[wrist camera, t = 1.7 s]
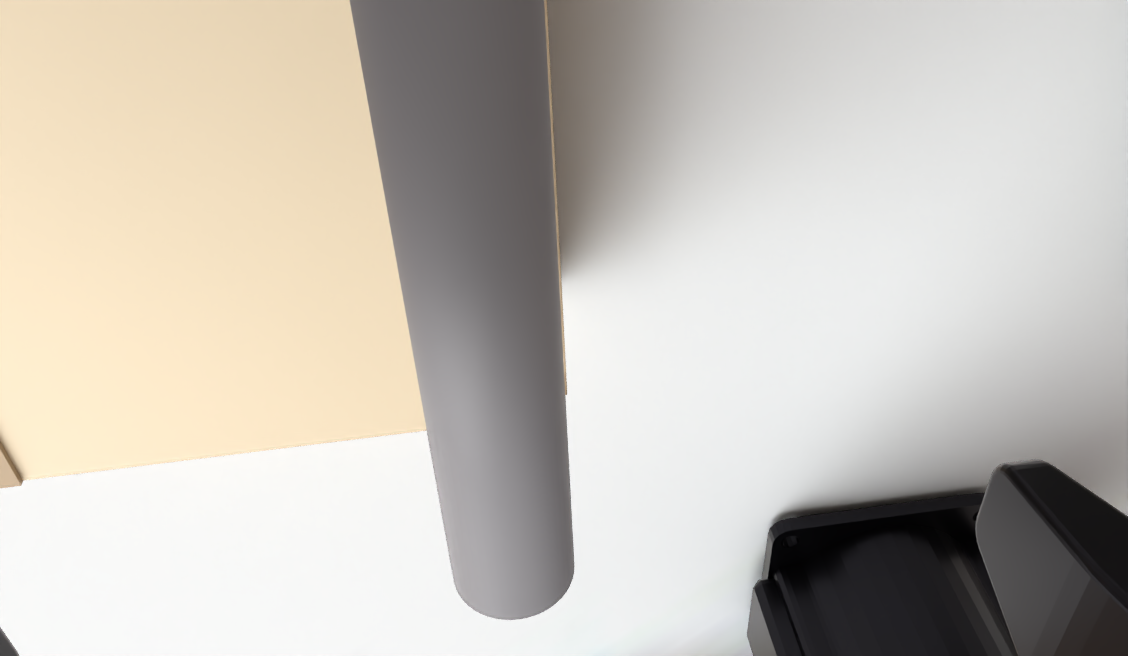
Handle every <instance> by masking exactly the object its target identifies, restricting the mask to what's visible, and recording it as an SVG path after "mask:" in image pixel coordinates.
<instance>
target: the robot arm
mask: <svg viewBox="0 0 1128 656" xmlns="http://www.w3.org/2000/svg"><path fill="white" fill-rule="evenodd" d="M747 637H748V640H749V643H750V647H751V650H752V653H753V656H1128V516H1126V515H1125V514H1123V513H1122V512H1120V511H1119V510H1118V509H1116V508H1115V507H1113V506H1112V505H1110V504H1109V503H1107V502H1106V501H1104V500H1103V499H1101V498H1100V497H1098V496H1097V495H1095V494H1094V493H1092V492H1091V491H1090V490H1088V489H1087V488H1085V487H1084V486H1082V485H1081V484H1079V483H1078V482H1076V481H1075V480H1073V479H1072V478H1070V477H1069V476H1067V475H1066V474H1065V473H1063V472H1062V471H1060V470H1059V469H1057V468H1056V467H1054V466H1053V465H1051V464H1049V463H1047V462H1045V461H1042V460H1025V461H1018V462H1010V463H1004V464H1000V465H999V466H998V467H996V468H995V469H994V470H993V472H992V474H991V477H990V480H989V483H988V486H987V489H986V492H985V493H975V494H967V495H960V496H953V497H945V498H938V499H930V500H923V501H915V502H908V503H901V504H893V505H886V506H878V507H871V508H864V509H856V510H849V511H841V512H834V513H826V514H819V515H812V516H804V517H797V518H789V519H785V520H781V521H779V522H777V523H775V524H774V525H773V526H772V527H771V528H770V530H769V532H768V539H767V546H766V553H765V560H764V567H763V574H762V579H761V580H758V582H757V583H756V585H755V586H754V588H753V593H752V600H751V608H750V615H749V623H748V630H747ZM0 656H19V654H18V652H17V651H16V649H15V648H14V646H13V645H12V643H11V642H10V641H9V639H8V638H7V636H6V635H5V633H4V632H3V630H2V629H1V628H0Z"/></svg>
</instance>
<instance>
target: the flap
mask: <svg viewBox="0 0 1128 656" xmlns="http://www.w3.org/2000/svg"><path fill="white" fill-rule="evenodd" d="M426 430H427V434H428V440H429V445H430V451H431V456H432V462H433V468H434V473H435V479H436V484H437V490H438V495H439V501H440V507H441V512H442V518H443V523H444V529H445V534H446V540H447V546H448V551H449V557H450V562H451V568H452V573H453V579H454V583H455V587H456V589H457V591H458V593H459V595H460V596H461V598H462V599H463V601H464V602H465V603H466V604H467V605H468V606H470V607H471V608H472V609H474V610H475V611H477V612H479V613H481V614H483V615H486V616H488V617H492V618H496V619H503V620H515V619H523V618H528V617H531V616H534V615H537V614H539V613H541V612H544V611H545V610H547V609H549V608H550V607H552V606H553V605H554V604H555V603H557V602H558V601H559V600H560V599H561V598H562V597H563V595H564V594H565V593H566V591H567V590H568V588H569V586H570V584H571V581H572V578H573V574H574V551H573V532H572V513H571V495H570V476H569V457H568V438H567V420H566V401H565V382H564V364H563V345H562V326H561V307H560V289H559V270H558V251H557V232H556V214H555V195H554V176H553V158H552V139H551V120H550V101H549V83H548V64H547V45H546V26H545V8H544V0H0V488H6V487H14V486H21V484H22V482H23V480H31V479H39V478H47V477H55V476H63V475H71V474H80V473H88V472H96V471H104V470H112V469H120V468H128V467H136V466H144V465H152V464H160V463H168V462H176V461H184V460H192V459H200V458H208V457H217V456H225V455H233V454H241V453H249V452H257V451H265V450H273V449H281V448H289V447H297V446H305V445H313V444H321V443H329V442H337V441H345V440H353V439H362V438H370V437H378V436H386V435H394V434H402V433H410V432H418V431H426Z"/></svg>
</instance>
